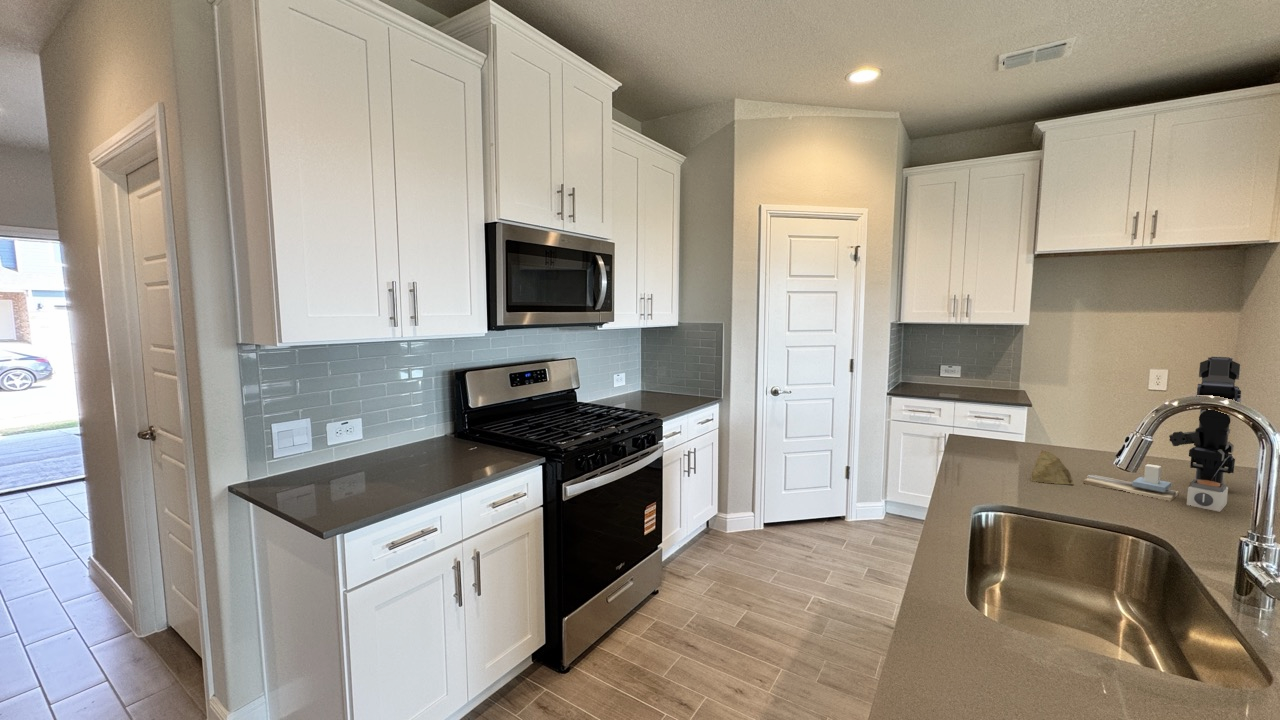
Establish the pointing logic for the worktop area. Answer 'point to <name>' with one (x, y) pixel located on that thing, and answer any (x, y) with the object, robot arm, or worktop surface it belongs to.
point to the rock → (1050, 470)
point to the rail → (1129, 487)
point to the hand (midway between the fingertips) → (1208, 479)
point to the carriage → (1152, 479)
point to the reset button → (1208, 483)
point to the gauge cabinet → (1207, 496)
